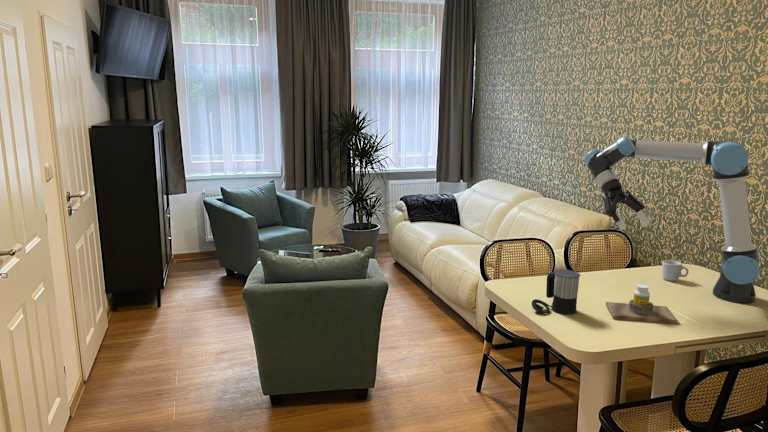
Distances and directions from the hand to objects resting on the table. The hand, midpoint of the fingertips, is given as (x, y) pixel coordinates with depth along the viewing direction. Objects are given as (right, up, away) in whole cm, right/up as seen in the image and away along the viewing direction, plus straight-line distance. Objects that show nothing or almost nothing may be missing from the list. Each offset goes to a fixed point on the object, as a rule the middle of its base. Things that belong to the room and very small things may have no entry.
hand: (635, 226), depth 229 cm
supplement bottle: (-3, -31, -11) cm, 33 cm away
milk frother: (-35, -32, -9) cm, 48 cm away
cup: (+30, -25, +31) cm, 49 cm away
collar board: (-3, -33, -11) cm, 35 cm away
